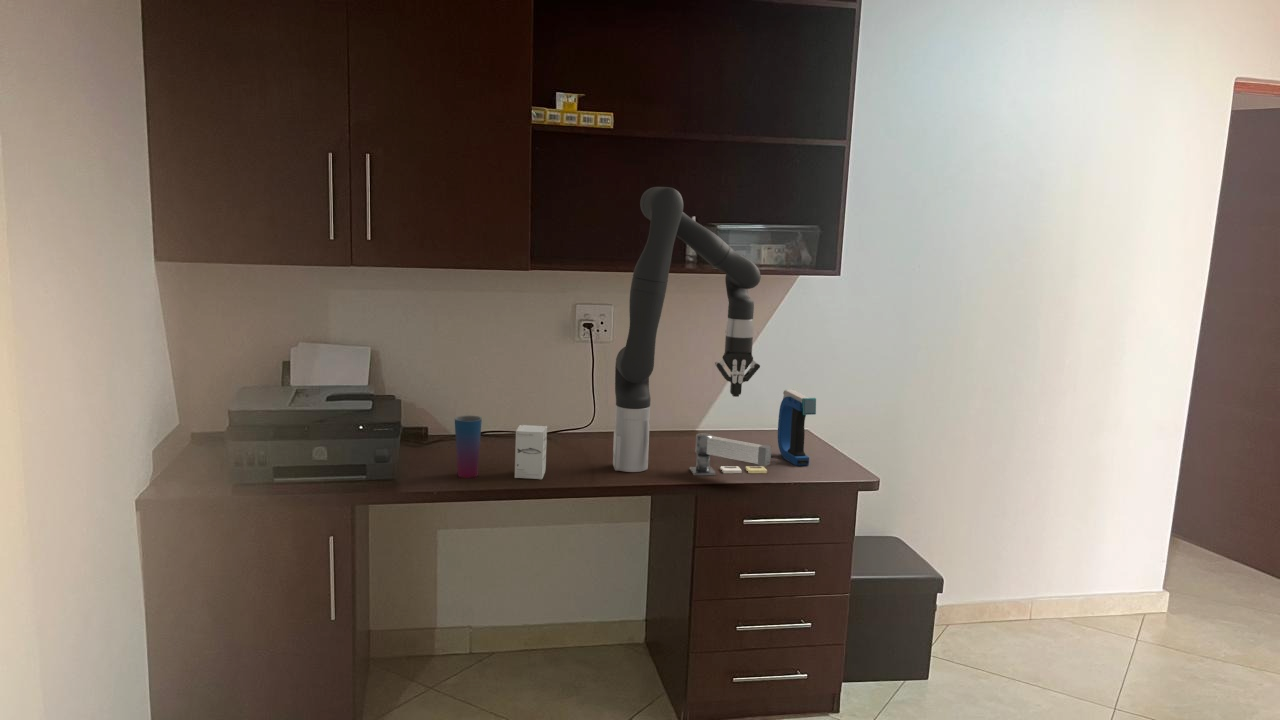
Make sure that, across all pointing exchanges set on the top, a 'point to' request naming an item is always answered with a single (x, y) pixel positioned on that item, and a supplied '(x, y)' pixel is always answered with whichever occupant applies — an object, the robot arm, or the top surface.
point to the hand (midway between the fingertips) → (735, 396)
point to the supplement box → (530, 451)
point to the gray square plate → (702, 466)
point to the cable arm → (733, 449)
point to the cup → (467, 444)
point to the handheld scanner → (794, 426)
